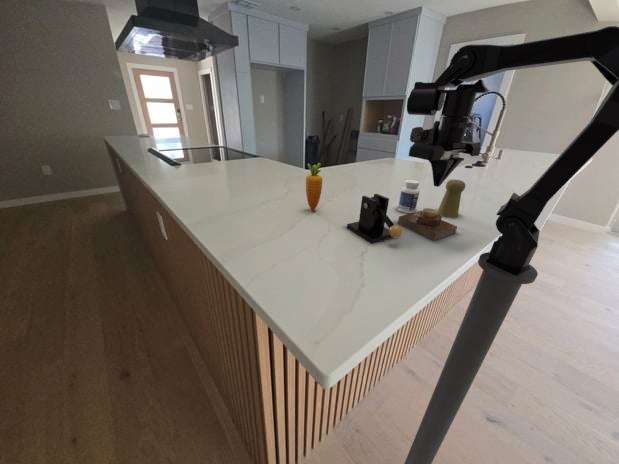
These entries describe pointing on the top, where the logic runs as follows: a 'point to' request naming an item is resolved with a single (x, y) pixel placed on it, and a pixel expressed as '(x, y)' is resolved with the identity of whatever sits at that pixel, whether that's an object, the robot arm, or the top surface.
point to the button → (429, 213)
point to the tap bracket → (371, 220)
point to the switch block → (427, 225)
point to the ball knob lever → (387, 220)
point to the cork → (451, 199)
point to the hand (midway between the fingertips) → (436, 186)
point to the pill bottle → (409, 197)
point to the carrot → (313, 186)
